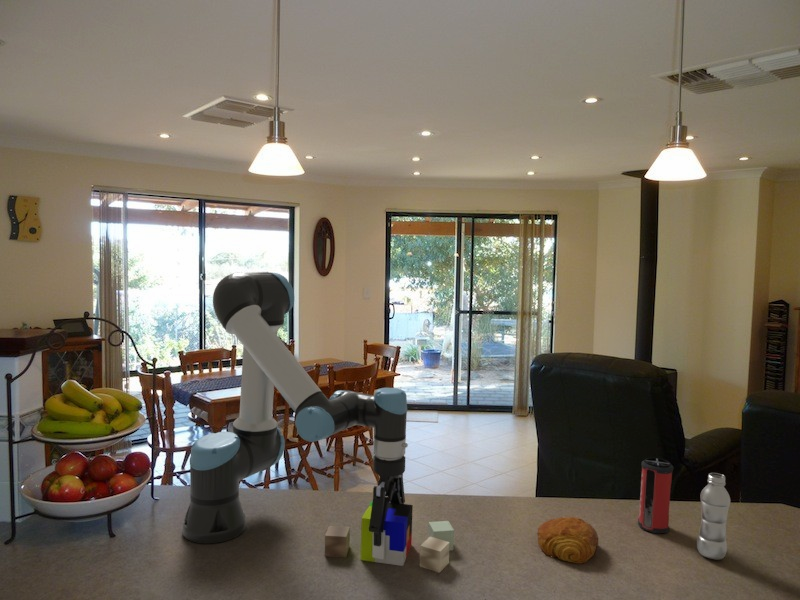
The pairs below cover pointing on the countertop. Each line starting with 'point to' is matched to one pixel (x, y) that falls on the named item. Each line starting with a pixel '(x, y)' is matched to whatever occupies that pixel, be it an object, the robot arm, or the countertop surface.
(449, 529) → the sage painted block
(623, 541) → the countertop surface
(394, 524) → the puzzle toy
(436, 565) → the maple block
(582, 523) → the croissant
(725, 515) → the plastic bottle
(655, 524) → the speaker
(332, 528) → the brown wooden cube
